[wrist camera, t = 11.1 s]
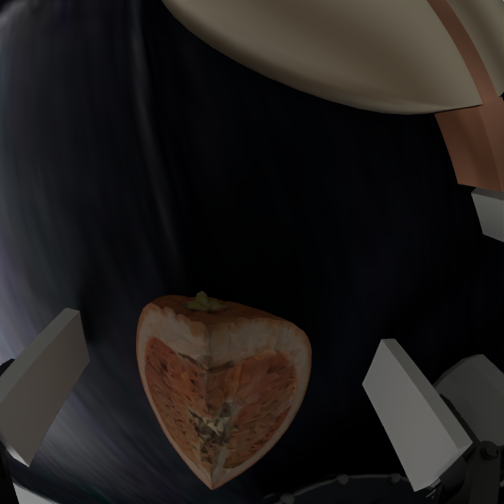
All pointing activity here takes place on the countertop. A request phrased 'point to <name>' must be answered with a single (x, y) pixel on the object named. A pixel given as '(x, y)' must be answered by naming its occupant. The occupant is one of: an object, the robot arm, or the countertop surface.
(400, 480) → the grey dotted bowl
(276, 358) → the fruit slice
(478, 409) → the water bottle
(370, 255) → the countertop surface
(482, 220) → the grey rectangular block
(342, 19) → the beige round piece
